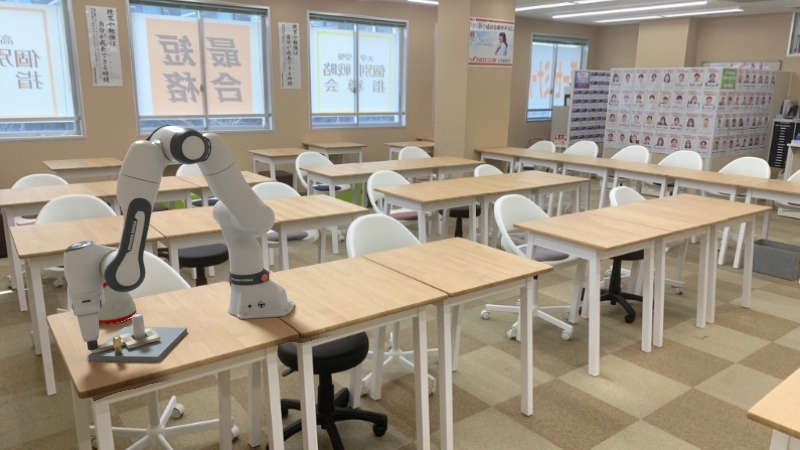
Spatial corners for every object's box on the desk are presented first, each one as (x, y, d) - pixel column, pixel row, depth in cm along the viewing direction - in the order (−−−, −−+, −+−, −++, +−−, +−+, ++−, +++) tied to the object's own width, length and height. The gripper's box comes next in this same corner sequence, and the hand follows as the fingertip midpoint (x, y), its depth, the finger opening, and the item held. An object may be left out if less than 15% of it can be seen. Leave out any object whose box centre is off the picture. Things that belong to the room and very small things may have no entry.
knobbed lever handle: (151, 330, 171) (149, 318, 170) (160, 340, 164) (159, 327, 163) (84, 347, 159) (83, 334, 159) (92, 358, 153) (90, 345, 152)
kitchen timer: (82, 318, 185) (76, 276, 182) (122, 306, 197) (117, 265, 193) (105, 328, 178) (99, 284, 174) (144, 314, 189) (140, 272, 186)
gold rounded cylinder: (123, 352, 157) (121, 336, 156) (120, 355, 155) (118, 339, 154) (117, 352, 157) (114, 336, 156) (113, 355, 155) (111, 339, 154)
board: (187, 331, 175) (184, 303, 173) (158, 361, 155) (155, 330, 153) (124, 331, 175) (121, 303, 173) (88, 360, 156) (84, 329, 154)
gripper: (74, 289, 163) (80, 332, 167) (73, 312, 146) (80, 360, 149) (98, 285, 166) (104, 328, 170) (100, 308, 149) (106, 355, 152)
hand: (93, 343), depth 159 cm, fingers closed
